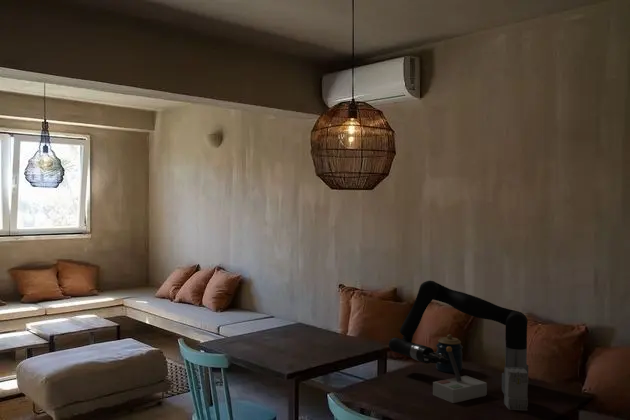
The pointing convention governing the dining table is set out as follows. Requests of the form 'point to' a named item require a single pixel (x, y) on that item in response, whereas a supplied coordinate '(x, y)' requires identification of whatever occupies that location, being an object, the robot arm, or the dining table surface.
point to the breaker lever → (453, 363)
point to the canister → (441, 348)
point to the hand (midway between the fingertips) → (448, 362)
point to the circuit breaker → (515, 388)
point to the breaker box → (459, 389)
